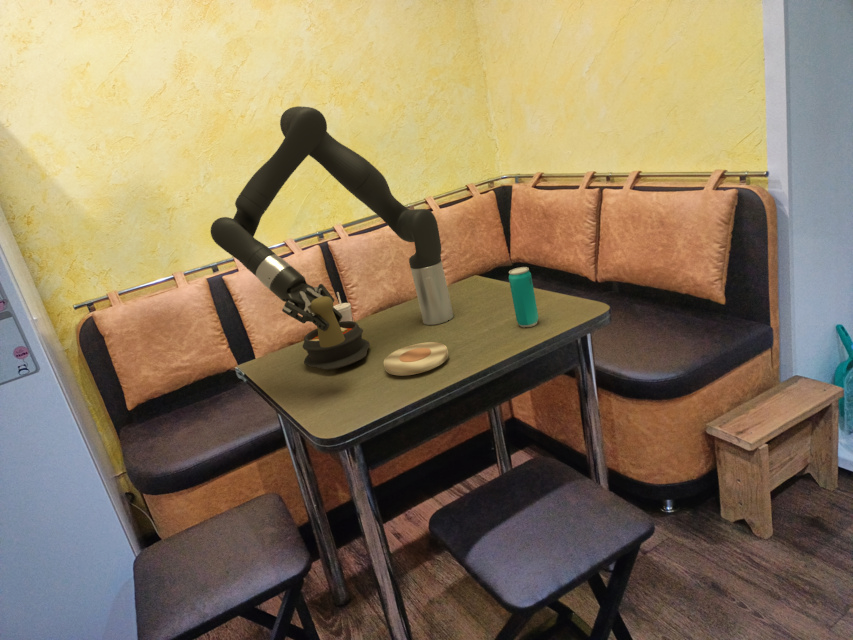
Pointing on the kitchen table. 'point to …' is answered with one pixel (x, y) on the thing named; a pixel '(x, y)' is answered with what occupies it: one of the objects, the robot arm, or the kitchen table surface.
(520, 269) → the beverage can
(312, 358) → the casserole
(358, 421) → the kitchen table surface
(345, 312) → the smoothie
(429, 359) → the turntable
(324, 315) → the brown pepper shaker
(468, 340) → the kitchen table surface
